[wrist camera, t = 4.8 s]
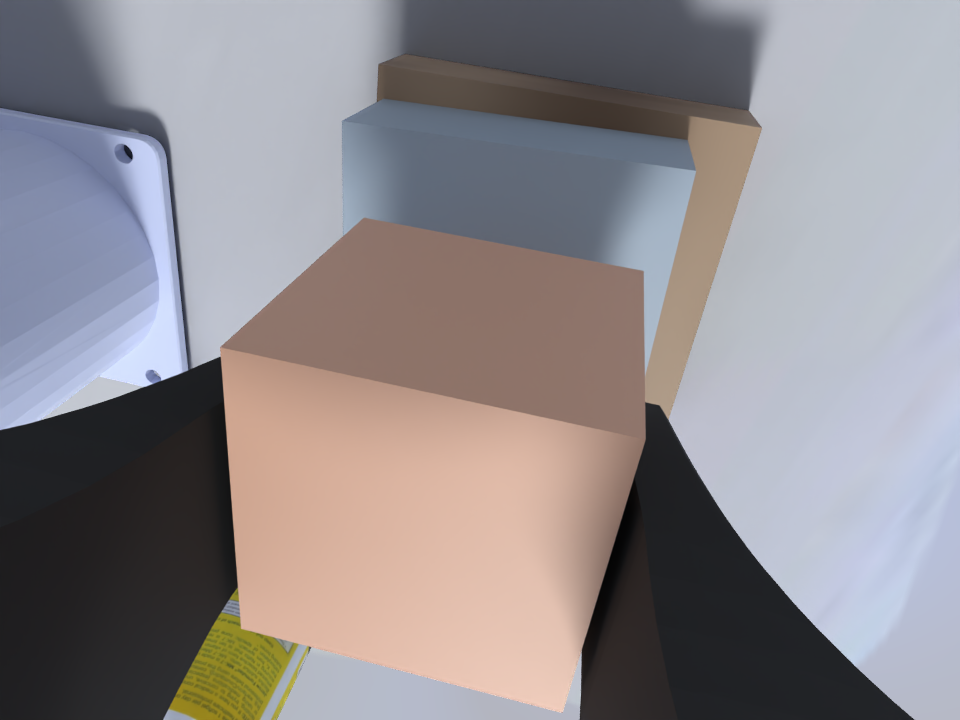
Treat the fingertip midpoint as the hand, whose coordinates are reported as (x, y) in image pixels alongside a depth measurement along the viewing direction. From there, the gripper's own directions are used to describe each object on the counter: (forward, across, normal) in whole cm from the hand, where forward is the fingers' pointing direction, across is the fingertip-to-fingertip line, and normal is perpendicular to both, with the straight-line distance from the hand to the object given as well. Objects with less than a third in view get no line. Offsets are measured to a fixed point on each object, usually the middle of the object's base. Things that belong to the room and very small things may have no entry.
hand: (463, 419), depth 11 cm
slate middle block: (+6, 0, 0) cm, 6 cm away
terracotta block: (+2, 0, 0) cm, 2 cm away
